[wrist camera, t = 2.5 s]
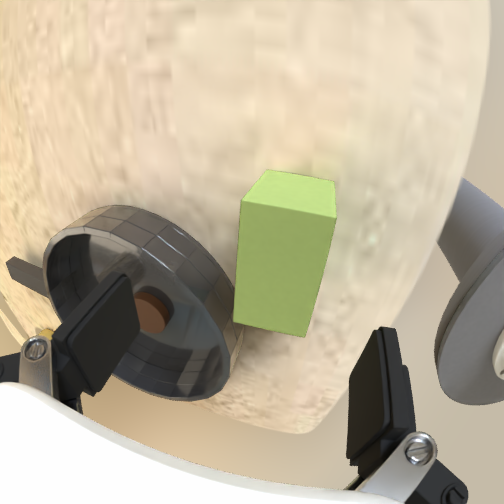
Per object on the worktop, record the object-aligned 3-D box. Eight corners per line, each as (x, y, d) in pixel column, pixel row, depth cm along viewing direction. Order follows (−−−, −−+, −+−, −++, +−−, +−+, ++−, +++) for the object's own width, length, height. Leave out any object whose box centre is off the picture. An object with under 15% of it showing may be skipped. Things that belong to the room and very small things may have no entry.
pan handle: (61, 276, 25) (52, 285, 24) (67, 294, 26) (58, 303, 25) (13, 255, 27) (5, 262, 25) (19, 271, 28) (11, 278, 27)
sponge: (334, 181, 16) (336, 217, 11) (312, 280, 20) (304, 338, 15) (266, 169, 17) (240, 199, 12) (256, 268, 20) (232, 322, 16)
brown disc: (167, 298, 23) (161, 306, 22) (171, 331, 25) (167, 338, 24) (128, 287, 24) (122, 293, 23) (135, 319, 26) (130, 325, 25)
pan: (254, 227, 19) (236, 259, 15) (238, 390, 29) (227, 420, 25) (53, 194, 22) (22, 212, 18) (94, 338, 32) (77, 360, 28)
